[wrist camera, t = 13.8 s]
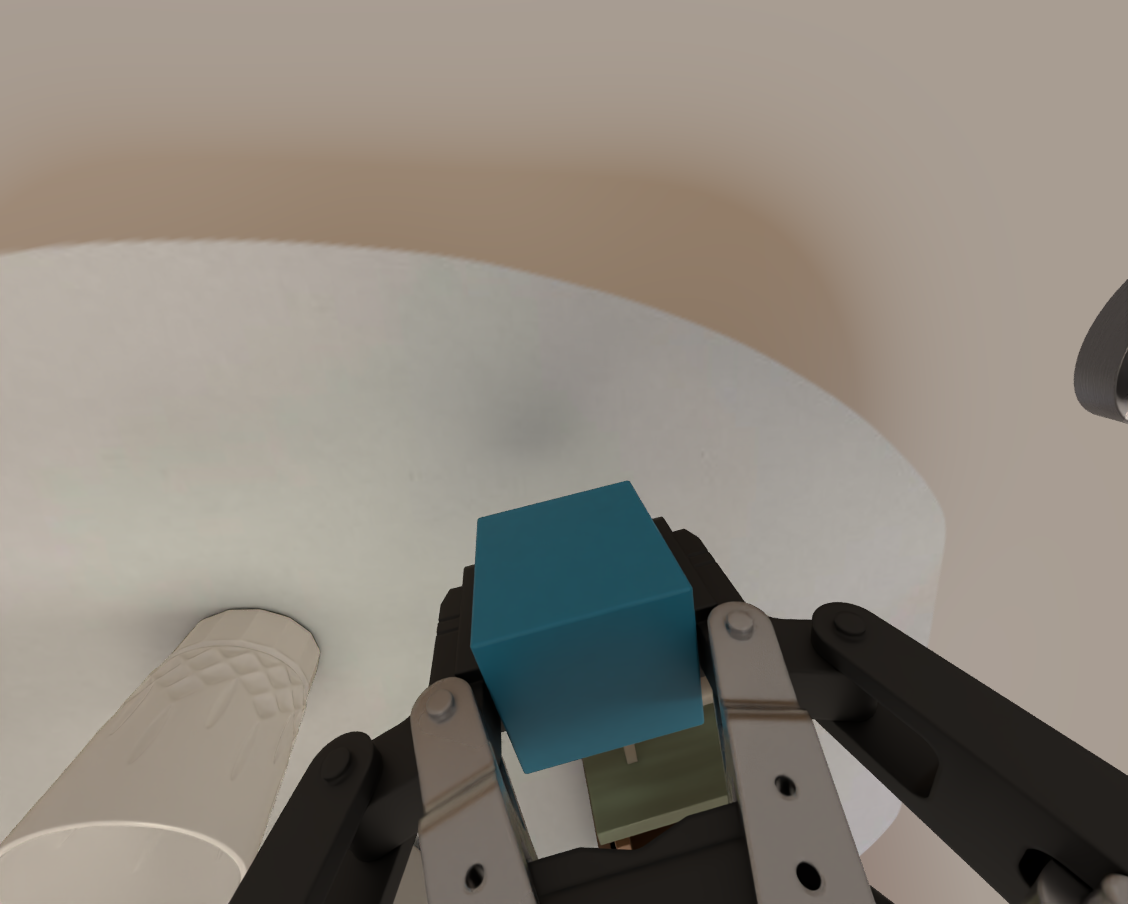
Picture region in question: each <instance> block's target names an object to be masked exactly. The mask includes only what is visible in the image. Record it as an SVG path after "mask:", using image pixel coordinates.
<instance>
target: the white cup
mask: <svg viewBox="0 0 1128 904" xmlns="http://www.w3.org/2000/svg"><path fill="white" fill-rule="evenodd" d="M319 657H320V650H319V648H318V646H317V644H316V642H315V640H314V638H313V636H312V634H311V633H310V632H309V631H308V630H306V629H305V628H303V627H302V626H301V625H299V624H298V623H297V622H295V621H294V620H292V619H291V618H289V617H286V616H283V615H279V614H276V613H272V612H268V611H265V610H261V609H245V610H227V611H224V612H222V613H219V614H216V615H214V616H211V617H208V618H206V619H203V620H201V621H200V622H199V623H198V624H197V625H196V626H195V627H194V628H193V629H192V631H191V632H190V633H189V634H188V635H187V636H186V637H185V638H184V640H183V641H182V642H181V643H180V644H179V645H178V647H177V648H176V649H175V650H174V651H173V652H172V654H171V655H170V656H169V657H168V658H167V659H166V660H165V661H164V662H163V663H162V664H161V665H160V666H159V667H157V668H156V669H154V670H153V671H152V672H151V673H150V674H149V675H148V677H147V678H146V679H145V680H144V681H143V683H142V684H141V685H140V686H139V687H138V688H137V689H136V690H135V691H134V692H133V693H132V694H131V695H130V696H129V697H128V698H127V700H126V701H125V702H124V703H123V704H122V706H121V707H120V708H119V709H118V711H117V712H116V713H115V714H114V716H113V717H111V718H110V719H109V720H108V721H107V722H106V723H105V724H104V725H103V726H102V727H101V728H100V729H99V731H98V732H97V733H96V734H95V735H94V736H93V738H92V739H91V740H90V741H89V742H88V744H87V745H86V746H85V747H84V748H83V750H82V751H81V752H80V753H79V754H78V755H77V757H76V758H75V759H74V760H73V761H72V762H71V764H70V765H69V766H68V767H67V768H66V769H65V770H64V772H63V773H62V774H61V775H60V776H59V777H58V779H57V780H56V781H55V782H54V783H53V784H52V785H51V787H50V788H49V789H48V790H47V791H46V792H45V794H44V795H43V796H42V797H41V798H40V799H39V800H38V801H37V802H36V804H35V805H34V806H33V807H32V808H31V809H30V810H29V812H28V813H27V814H26V815H25V816H24V817H23V819H22V820H21V821H20V822H19V823H18V824H17V825H16V827H15V828H14V829H13V830H12V831H11V832H10V834H9V835H8V836H7V837H6V838H5V839H4V840H3V842H2V843H1V844H0V904H228V903H229V901H230V900H231V898H232V896H233V895H234V893H235V891H236V890H237V888H238V886H239V884H240V883H241V881H242V879H243V878H244V876H245V874H246V872H247V871H248V869H249V867H250V866H251V864H252V862H253V861H254V859H255V857H256V855H257V853H258V850H259V847H260V844H261V841H262V838H263V835H264V833H265V830H266V827H267V824H268V821H269V818H270V815H271V812H272V809H273V807H274V804H275V801H276V798H277V795H278V792H279V789H280V786H281V783H282V781H283V778H284V775H285V772H286V769H287V766H288V762H289V757H290V755H291V752H292V749H293V746H294V744H295V741H296V737H297V734H298V731H299V727H300V724H301V721H302V719H303V716H304V713H305V709H306V705H307V703H306V700H307V697H308V694H309V691H310V689H311V686H312V683H313V680H314V678H315V675H316V672H317V667H318V662H319Z"/></svg>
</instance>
